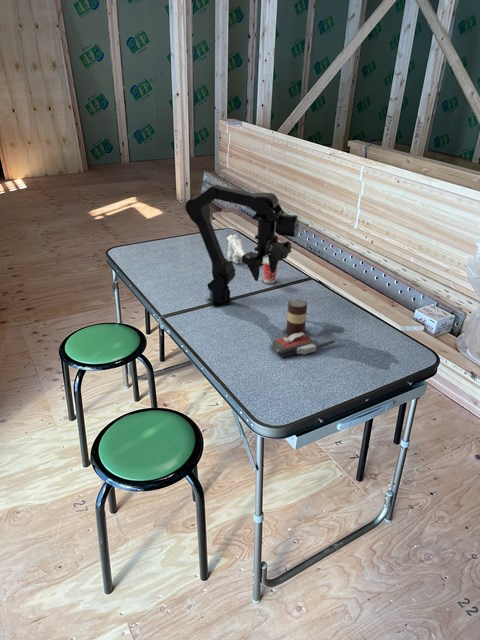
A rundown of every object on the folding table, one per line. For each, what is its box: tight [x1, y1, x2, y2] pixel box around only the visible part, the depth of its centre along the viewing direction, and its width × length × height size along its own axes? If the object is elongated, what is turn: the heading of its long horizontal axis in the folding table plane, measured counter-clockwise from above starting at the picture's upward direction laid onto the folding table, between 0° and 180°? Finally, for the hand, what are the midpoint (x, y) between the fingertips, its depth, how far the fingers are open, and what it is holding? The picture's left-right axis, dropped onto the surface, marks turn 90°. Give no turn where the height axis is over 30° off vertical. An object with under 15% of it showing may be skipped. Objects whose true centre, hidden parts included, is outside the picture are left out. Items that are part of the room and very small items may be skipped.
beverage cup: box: [262, 257, 278, 284], centre depth 193 cm, size 6×6×14 cm
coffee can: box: [286, 298, 308, 336], centre depth 159 cm, size 6×6×11 cm
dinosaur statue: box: [226, 233, 247, 264], centre depth 212 cm, size 7×24×11 cm, turn 25°
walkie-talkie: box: [271, 332, 336, 358], centre depth 151 cm, size 9×4×20 cm
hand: (264, 276), depth 168 cm, fingers open, 9 cm apart
